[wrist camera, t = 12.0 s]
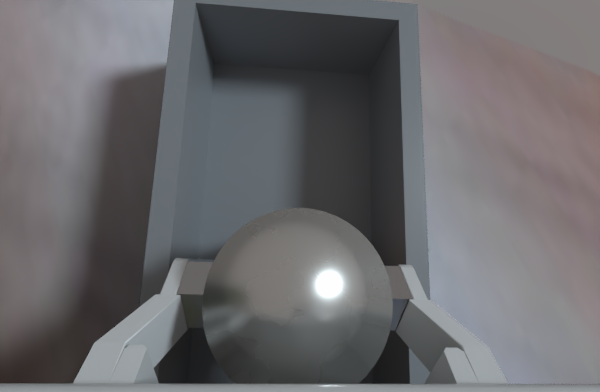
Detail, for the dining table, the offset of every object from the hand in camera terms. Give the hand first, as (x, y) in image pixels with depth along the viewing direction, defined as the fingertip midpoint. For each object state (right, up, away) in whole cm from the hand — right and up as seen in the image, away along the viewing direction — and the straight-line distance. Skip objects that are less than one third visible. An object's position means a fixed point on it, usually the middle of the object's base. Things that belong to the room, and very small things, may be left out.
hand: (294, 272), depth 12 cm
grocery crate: (-1, 0, +7) cm, 7 cm away
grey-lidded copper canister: (0, -2, +6) cm, 6 cm away
